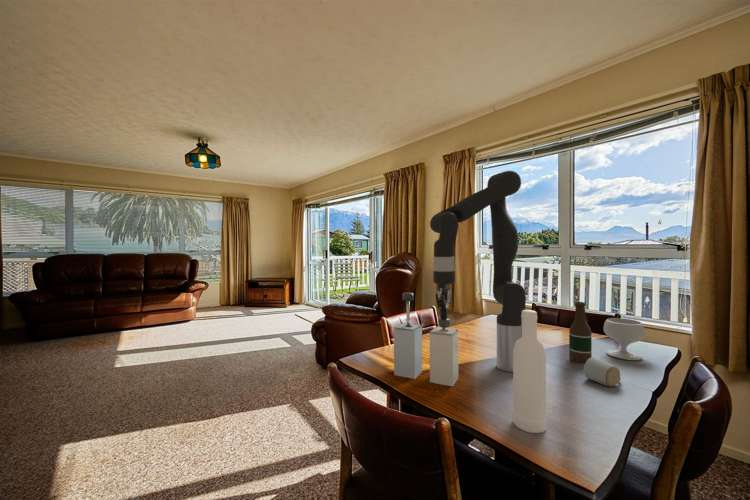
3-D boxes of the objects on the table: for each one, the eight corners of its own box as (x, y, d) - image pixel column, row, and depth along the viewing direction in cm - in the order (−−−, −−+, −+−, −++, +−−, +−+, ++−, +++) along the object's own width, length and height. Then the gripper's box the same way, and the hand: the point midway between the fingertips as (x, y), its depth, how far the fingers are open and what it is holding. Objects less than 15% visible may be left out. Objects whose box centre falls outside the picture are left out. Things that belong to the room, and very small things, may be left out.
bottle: (552, 427, 82) (552, 311, 82) (535, 437, 78) (535, 315, 78) (524, 414, 89) (524, 307, 89) (506, 422, 85) (506, 310, 85)
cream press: (458, 377, 114) (458, 329, 114) (452, 386, 107) (452, 334, 107) (436, 373, 118) (436, 326, 117) (429, 382, 111) (429, 331, 110)
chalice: (599, 349, 144) (599, 316, 144) (637, 352, 139) (637, 318, 139) (609, 359, 131) (609, 323, 131) (651, 363, 126) (651, 326, 126)
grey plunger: (418, 332, 120) (418, 292, 119) (412, 336, 114) (412, 295, 114) (403, 330, 122) (403, 291, 122) (397, 334, 117) (397, 293, 117)
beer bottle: (571, 363, 128) (571, 303, 128) (567, 356, 135) (567, 300, 135) (594, 365, 125) (594, 304, 125) (589, 359, 132) (589, 301, 132)
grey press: (422, 371, 120) (422, 324, 120) (414, 379, 113) (414, 329, 113) (402, 367, 124) (402, 322, 124) (394, 375, 117) (393, 327, 117)
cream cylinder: (607, 389, 104) (607, 366, 104) (582, 380, 112) (583, 358, 111) (628, 385, 108) (628, 362, 108) (602, 375, 115) (603, 354, 115)
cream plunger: (454, 359, 113) (454, 318, 113) (450, 365, 108) (450, 321, 108) (438, 356, 116) (438, 316, 116) (433, 362, 111) (433, 319, 111)
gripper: (449, 271, 104) (450, 324, 104) (459, 268, 116) (459, 316, 116) (427, 270, 108) (427, 321, 108) (438, 268, 119) (438, 314, 120)
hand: (444, 318), depth 112 cm, fingers closed
